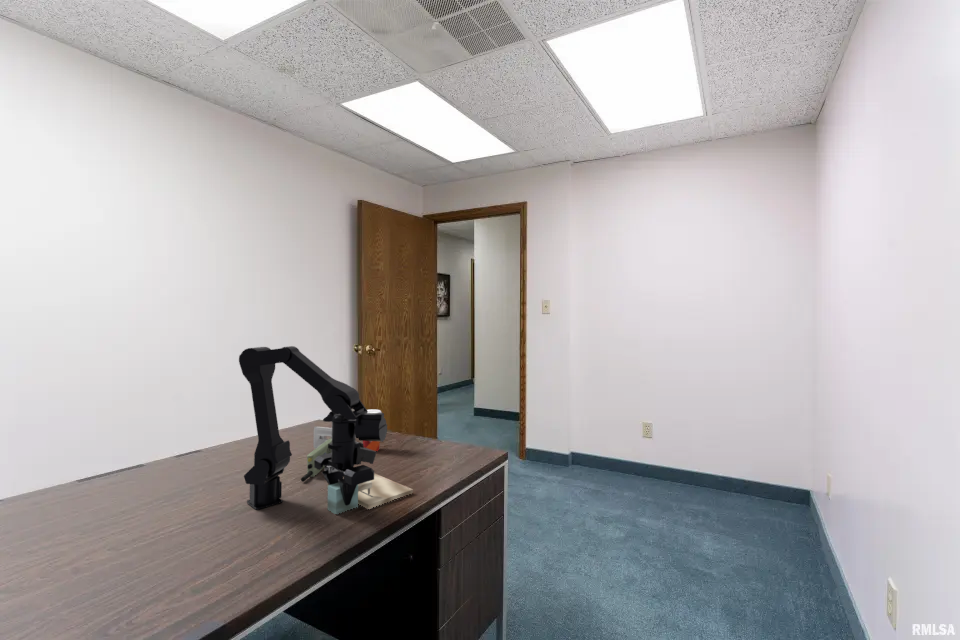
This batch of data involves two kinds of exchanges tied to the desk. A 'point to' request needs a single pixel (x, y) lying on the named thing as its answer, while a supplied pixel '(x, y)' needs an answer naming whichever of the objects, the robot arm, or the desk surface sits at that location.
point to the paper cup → (372, 444)
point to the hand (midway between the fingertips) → (342, 502)
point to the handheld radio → (313, 455)
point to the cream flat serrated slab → (381, 492)
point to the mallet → (336, 499)
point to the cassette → (321, 435)
